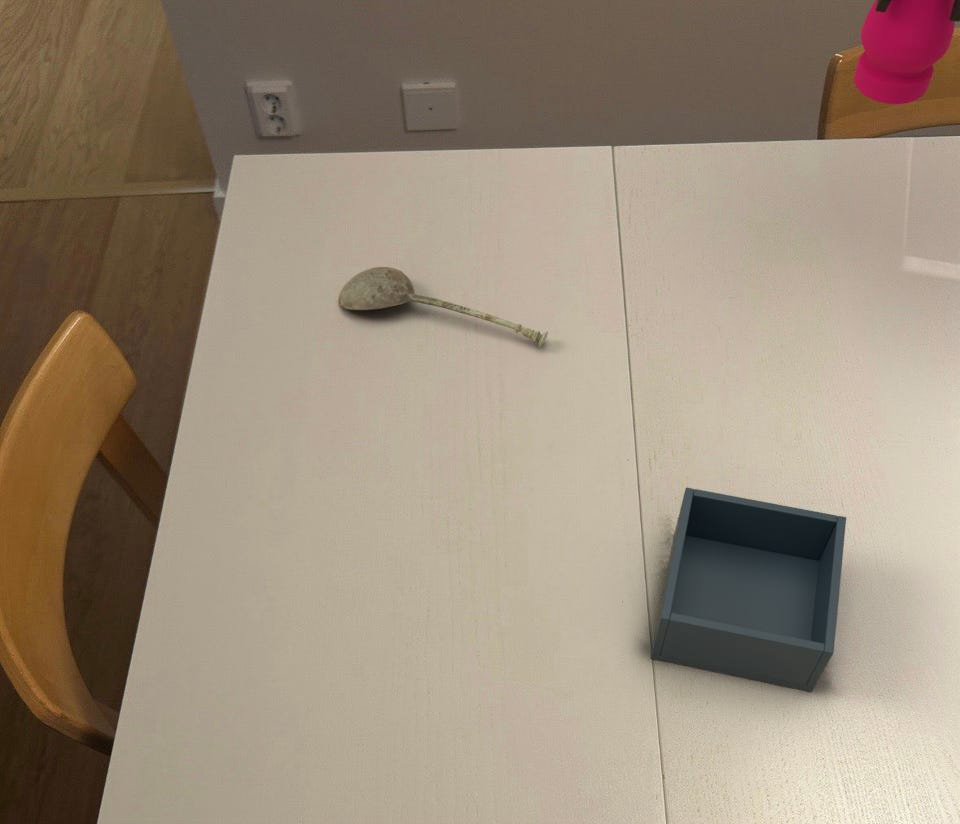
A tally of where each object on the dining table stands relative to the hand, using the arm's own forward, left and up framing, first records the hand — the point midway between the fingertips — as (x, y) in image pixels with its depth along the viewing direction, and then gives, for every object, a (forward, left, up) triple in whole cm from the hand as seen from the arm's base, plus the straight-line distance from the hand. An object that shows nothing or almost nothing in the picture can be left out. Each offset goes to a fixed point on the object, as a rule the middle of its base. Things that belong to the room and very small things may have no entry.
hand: (920, 10), depth 83 cm
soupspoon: (+37, +12, -28) cm, 48 cm away
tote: (+4, +39, -28) cm, 49 cm away
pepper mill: (0, -4, -8) cm, 9 cm away
